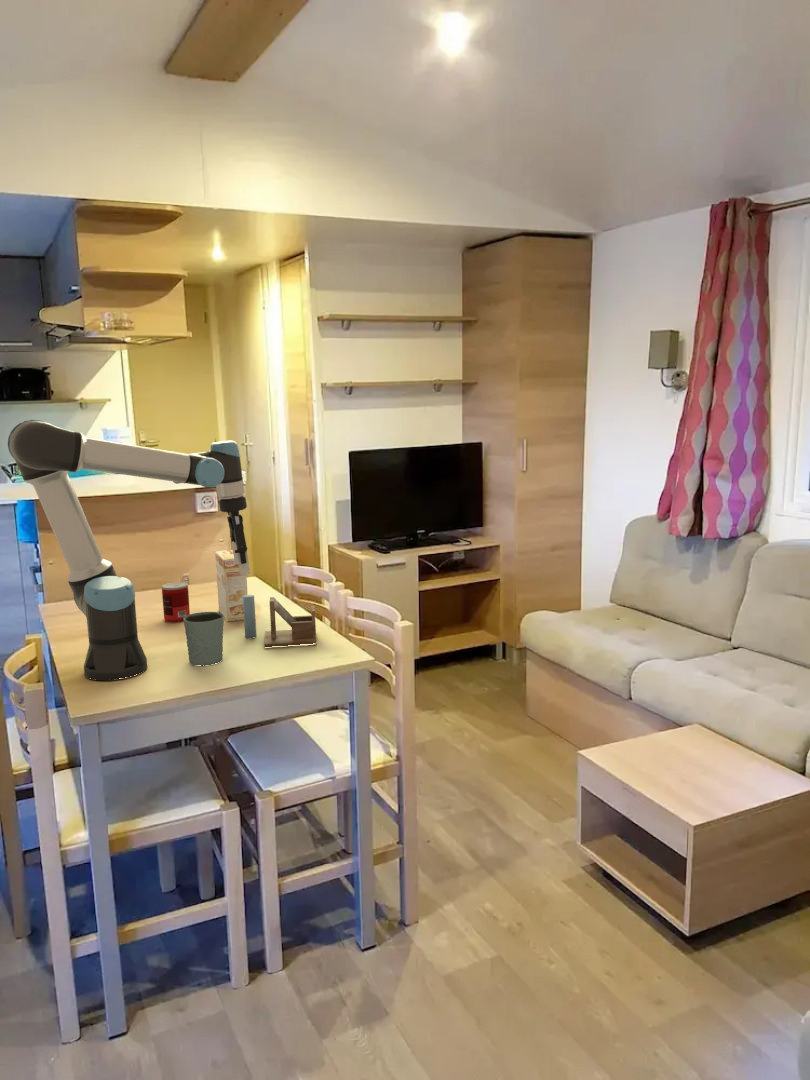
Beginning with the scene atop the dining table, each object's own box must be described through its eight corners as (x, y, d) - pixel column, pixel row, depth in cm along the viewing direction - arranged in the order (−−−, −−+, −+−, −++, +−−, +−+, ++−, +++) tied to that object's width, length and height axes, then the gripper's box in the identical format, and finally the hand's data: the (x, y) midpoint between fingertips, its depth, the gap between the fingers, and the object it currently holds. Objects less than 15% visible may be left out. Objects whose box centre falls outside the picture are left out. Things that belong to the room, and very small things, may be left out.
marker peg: (256, 638, 231) (253, 597, 228) (244, 638, 230) (242, 597, 228) (256, 634, 234) (254, 594, 231) (245, 635, 233) (243, 595, 231)
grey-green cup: (180, 666, 208) (177, 621, 206) (195, 653, 218) (192, 610, 216) (218, 667, 207) (215, 622, 205) (231, 654, 217) (229, 611, 214)
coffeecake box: (249, 619, 249) (246, 557, 246) (226, 622, 247) (222, 559, 243) (240, 607, 263) (236, 548, 259) (218, 610, 260) (214, 550, 257)
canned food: (193, 615, 254) (191, 581, 252) (184, 623, 246) (182, 588, 244) (170, 615, 255) (167, 581, 253) (160, 622, 247) (157, 587, 245)
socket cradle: (316, 645, 223) (314, 602, 221) (264, 648, 221) (262, 605, 219) (315, 632, 235) (313, 591, 232) (265, 635, 233) (263, 594, 231)
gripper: (250, 500, 217) (261, 576, 222) (240, 488, 241) (249, 557, 246) (222, 505, 215) (233, 581, 220) (214, 491, 239) (224, 561, 243)
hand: (242, 568), depth 233 cm, fingers open, 13 cm apart
